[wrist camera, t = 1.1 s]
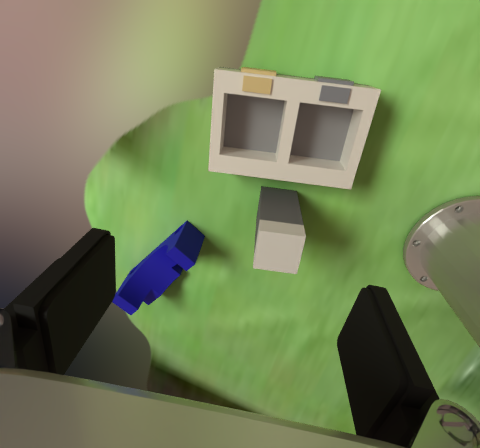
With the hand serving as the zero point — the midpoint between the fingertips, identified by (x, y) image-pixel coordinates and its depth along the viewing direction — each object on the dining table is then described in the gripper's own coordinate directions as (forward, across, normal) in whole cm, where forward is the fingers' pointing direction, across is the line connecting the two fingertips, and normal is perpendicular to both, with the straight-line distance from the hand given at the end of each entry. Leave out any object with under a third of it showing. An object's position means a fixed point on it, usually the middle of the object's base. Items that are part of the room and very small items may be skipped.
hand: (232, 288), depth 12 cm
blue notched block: (+24, +8, +18) cm, 31 cm away
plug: (+24, -4, +7) cm, 25 cm away
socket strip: (+24, -2, -2) cm, 24 cm away
